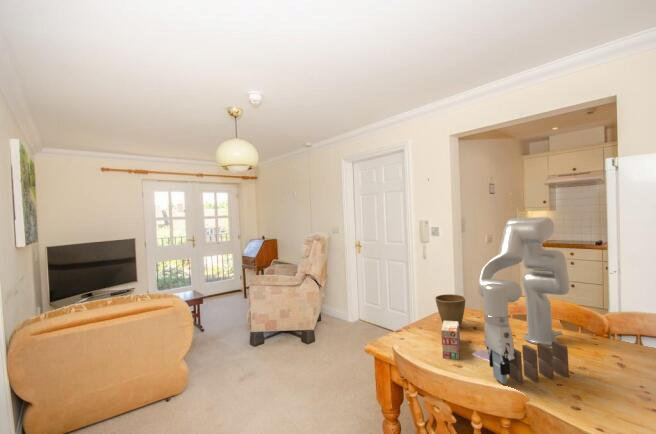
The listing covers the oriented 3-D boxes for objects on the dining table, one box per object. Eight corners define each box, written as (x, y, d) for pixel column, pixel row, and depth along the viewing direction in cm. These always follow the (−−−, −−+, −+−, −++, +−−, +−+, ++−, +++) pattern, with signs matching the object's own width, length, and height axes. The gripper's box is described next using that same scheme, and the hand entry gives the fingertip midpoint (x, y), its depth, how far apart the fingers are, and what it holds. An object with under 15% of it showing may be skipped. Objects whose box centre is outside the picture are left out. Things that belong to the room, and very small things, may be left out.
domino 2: (513, 376, 116) (511, 346, 116) (523, 383, 111) (521, 352, 111) (508, 377, 116) (507, 346, 116) (518, 384, 111) (516, 352, 111)
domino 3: (528, 374, 117) (526, 344, 117) (538, 381, 112) (536, 350, 112) (524, 375, 117) (522, 345, 117) (534, 382, 112) (532, 350, 112)
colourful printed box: (446, 339, 153) (444, 314, 153) (460, 341, 151) (458, 315, 151) (442, 358, 134) (441, 329, 134) (458, 360, 131) (457, 330, 131)
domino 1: (497, 376, 115) (495, 345, 115) (507, 383, 110) (505, 351, 110) (493, 376, 115) (491, 346, 115) (502, 383, 110) (500, 352, 110)
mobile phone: (481, 348, 139) (516, 360, 126) (481, 350, 139) (516, 363, 126) (470, 353, 136) (505, 366, 123) (470, 355, 136) (505, 368, 123)
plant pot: (445, 321, 178) (443, 292, 178) (472, 327, 167) (470, 296, 167) (431, 328, 168) (429, 298, 168) (459, 335, 157) (457, 303, 157)
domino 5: (557, 370, 118) (555, 341, 118) (569, 377, 113) (567, 346, 113) (553, 371, 118) (551, 341, 118) (565, 377, 113) (563, 346, 113)
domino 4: (542, 372, 117) (541, 342, 118) (554, 379, 112) (552, 348, 113) (538, 373, 117) (537, 343, 117) (549, 379, 112) (548, 348, 112)
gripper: (523, 326, 105) (527, 381, 105) (491, 311, 122) (494, 358, 122) (502, 328, 104) (506, 384, 104) (472, 313, 121) (475, 361, 121)
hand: (499, 369), depth 113 cm, fingers open, 5 cm apart
